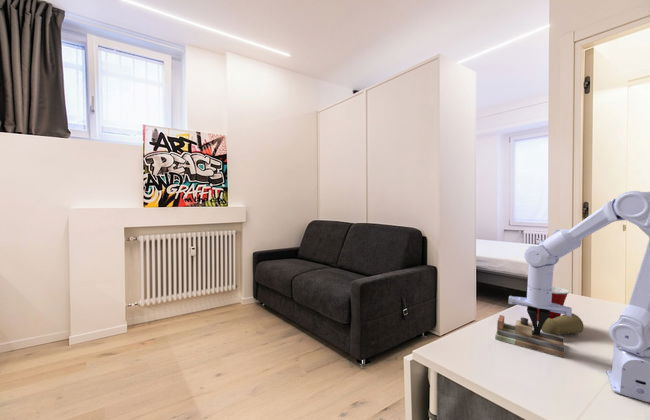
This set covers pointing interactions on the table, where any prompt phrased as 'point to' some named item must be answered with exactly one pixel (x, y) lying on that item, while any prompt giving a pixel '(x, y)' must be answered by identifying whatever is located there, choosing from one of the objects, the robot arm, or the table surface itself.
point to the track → (530, 339)
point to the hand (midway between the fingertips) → (537, 333)
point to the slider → (523, 327)
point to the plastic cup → (557, 300)
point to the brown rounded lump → (563, 325)
